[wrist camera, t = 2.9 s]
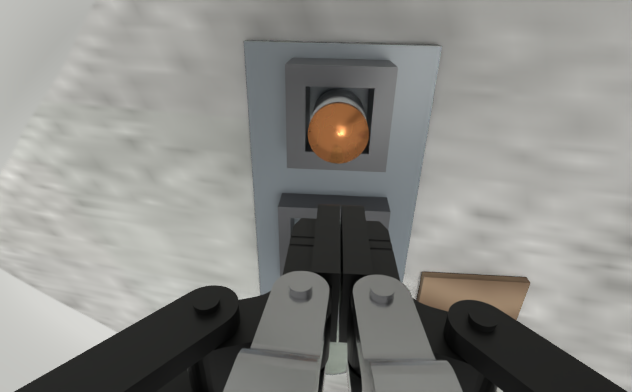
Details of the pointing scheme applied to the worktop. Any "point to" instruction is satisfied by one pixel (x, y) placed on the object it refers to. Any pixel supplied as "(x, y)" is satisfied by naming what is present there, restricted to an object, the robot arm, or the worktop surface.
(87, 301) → the worktop surface
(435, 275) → the coaster
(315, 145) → the plunger
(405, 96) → the base
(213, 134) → the worktop surface
